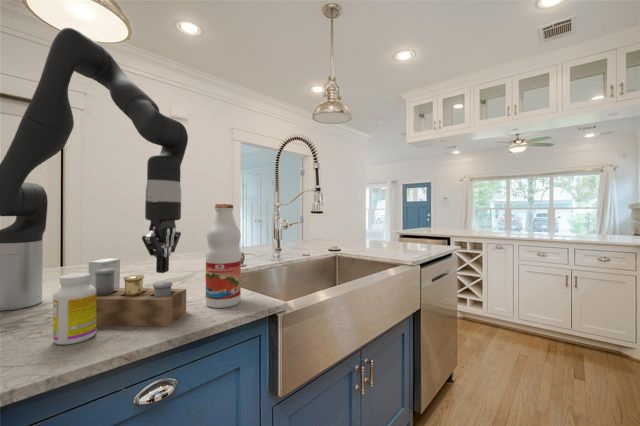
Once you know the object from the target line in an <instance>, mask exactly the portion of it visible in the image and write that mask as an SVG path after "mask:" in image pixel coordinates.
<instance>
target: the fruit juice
mask: <svg viewBox="0 0 640 426" xmlns="http://www.w3.org/2000/svg"><path fill="white" fill-rule="evenodd" d="M214 208H215V209H214V210H215V214H214V217H213V220H212V221H211V222H212V223H211V225H210V227H209V229H207V233H206V242H207V245H208V247H207V250H206V254H205V304H206V306H207V307H209V308H213V309H224V308H230V307H234V306H237V305H238V304H239V303H240V301H241V295H242V294H241V290H242V289H241V288H242V287H241V285H242V284H241V283H242V282H241V281H242V277H241V276H242V275H241V273H242V271H241V269H242V253H241V248H240V245H239V244H240V241H241V230H240V229H239V228H238V226H237V223H236V220H235V217H234V214H233V210H234V204H233V203H231V204H230V203H229V204H228V203H227V204H226V203H225V204H224V203H216V204H214Z"/></svg>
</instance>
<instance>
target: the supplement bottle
mask: <svg viewBox="0 0 640 426" xmlns="http://www.w3.org/2000/svg"><path fill="white" fill-rule="evenodd" d="M89 281H90V274H89V272H77V273H69V274H64V275H61V276H60V277H59V284H60V288H59V289H57V290H55V291H54V293H53V295H52V296H53V297H52V301H53V302H52V309H53V310H52V311H53V312H52V314H53V315H52V326H53V327H52V337H53V338H52V339H53V343H54V344H55V345H59V346H60V345H62V346H63V345H65V346H66V345H73V344H78V343H82V342H85V341H87V340H89V339H91V338H92V337H94V336H95V335H96V333H97V325H96V288H95V287H94V286H92V285H89Z"/></svg>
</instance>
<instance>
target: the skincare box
mask: <svg viewBox="0 0 640 426" xmlns="http://www.w3.org/2000/svg"><path fill="white" fill-rule="evenodd" d="M105 268H115V272H114V288H121V287H120V284H121V283H120V280H121V277H120V276H121V259H120V258H111V257H110V258H103V259H96V260H93V261H88V273H89V274H90V281H89V285H92V286H94V287H95V288H96V274H95V270H98V269H105Z"/></svg>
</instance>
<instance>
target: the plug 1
mask: <svg viewBox="0 0 640 426" xmlns="http://www.w3.org/2000/svg"><path fill="white" fill-rule="evenodd" d="M114 272H115V268H105V269H98V270H95V274H96V296H108V295H111V294H113V293H114Z"/></svg>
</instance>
